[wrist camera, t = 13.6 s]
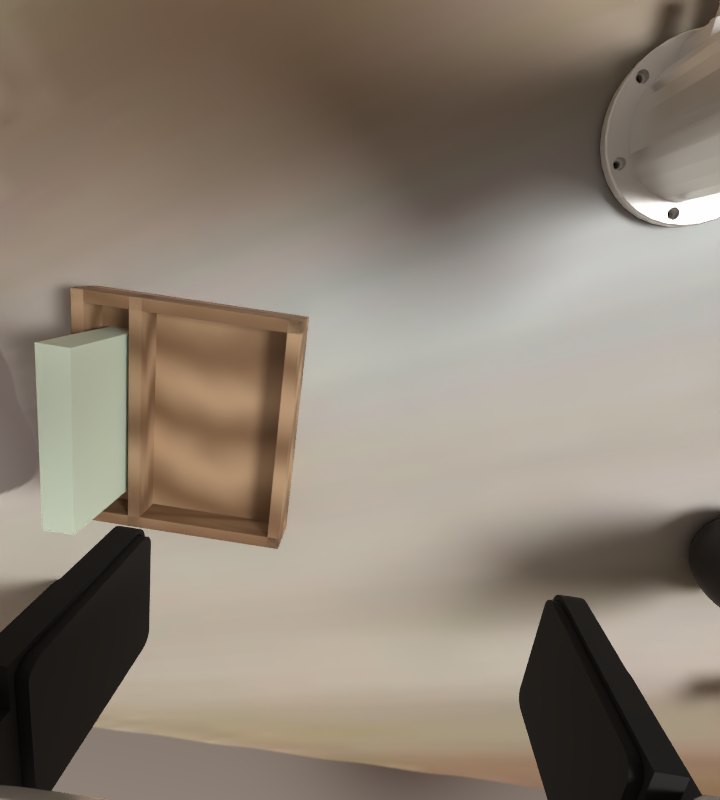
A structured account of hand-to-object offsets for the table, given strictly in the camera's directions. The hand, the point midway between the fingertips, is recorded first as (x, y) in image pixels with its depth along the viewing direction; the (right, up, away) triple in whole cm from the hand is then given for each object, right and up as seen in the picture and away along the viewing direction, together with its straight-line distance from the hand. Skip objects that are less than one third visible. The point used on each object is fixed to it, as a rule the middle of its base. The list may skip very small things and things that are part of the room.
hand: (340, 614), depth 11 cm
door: (-20, +4, +30) cm, 37 cm away
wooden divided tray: (-14, +4, +31) cm, 35 cm away
